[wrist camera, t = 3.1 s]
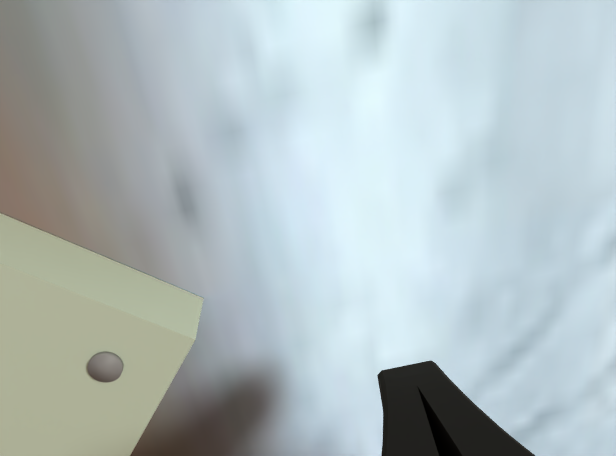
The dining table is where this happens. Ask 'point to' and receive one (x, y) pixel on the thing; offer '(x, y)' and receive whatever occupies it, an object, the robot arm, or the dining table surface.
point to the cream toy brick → (82, 346)
